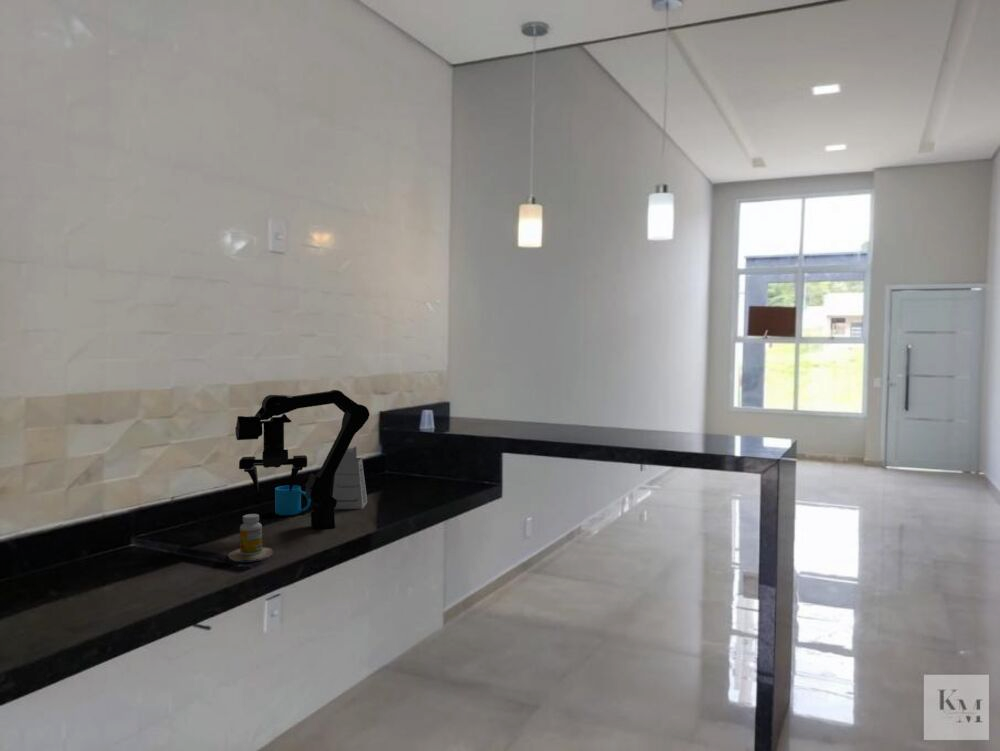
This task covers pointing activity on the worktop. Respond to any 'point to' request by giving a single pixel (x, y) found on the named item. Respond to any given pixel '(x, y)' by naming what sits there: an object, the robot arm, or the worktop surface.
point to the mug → (289, 500)
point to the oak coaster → (238, 556)
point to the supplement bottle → (251, 535)
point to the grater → (350, 482)
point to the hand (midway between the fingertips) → (274, 491)
